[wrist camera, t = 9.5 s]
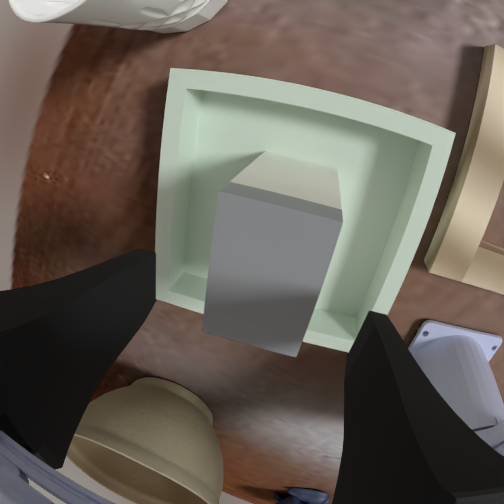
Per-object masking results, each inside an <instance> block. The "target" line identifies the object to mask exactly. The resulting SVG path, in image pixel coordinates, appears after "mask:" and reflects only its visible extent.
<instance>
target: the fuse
mask: <svg viewBox="0 0 504 504" xmlns="http://www.w3.org/2000/svg"><path fill="white" fill-rule="evenodd" d="M342 224H343V216H342V206H341V196H340V187H339V179H338V170H337V169H336V168H332V167H329V166H325V165H321V164H317V163H313V162H309V161H305V160H301V159H297V158H293V157H289V156H284V155H280V154H276V153H271V152H267V151H265V152H264V153H263V154H261V155H260V156H259V157H258V158H257V159H255V160H254V161H253V162H252V163H251V164H250V165H248V166H247V167H246V168H245V169H244V170H243V171H241V172H240V173H239V174H238V175H237V176H236V177H234V178H233V179H232V180H231V181H230V182H229V183H228V184H226V185H225V186H224V187H223V188H222V189H221V190H220V191H219V193H218V200H217V207H216V215H215V222H214V230H213V237H212V245H211V253H210V261H209V270H208V278H207V287H206V296H205V305H204V314H203V324H202V331H204V332H207V333H210V334H213V335H217V336H220V337H223V338H227V339H230V340H233V341H237V342H240V343H244V344H247V345H251V346H254V347H258V348H261V349H265V350H269V351H273V352H276V353H280V354H284V355H288V356H292V357H297V354H298V351H299V349H300V346H301V344H302V341H303V338H304V336H305V333H306V330H307V328H308V325H309V322H310V320H311V317H312V314H313V311H314V309H315V306H316V303H317V300H318V297H319V295H320V292H321V289H322V286H323V283H324V280H325V277H326V274H327V271H328V268H329V265H330V262H331V259H332V256H333V253H334V250H335V247H336V244H337V240H338V237H339V234H340V231H341V228H342Z"/></svg>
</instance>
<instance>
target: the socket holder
mask: <svg viewBox="0 0 504 504" xmlns="http://www.w3.org/2000/svg"><path fill="white" fill-rule="evenodd" d="M503 180H504V49H503V48H501V47H500V46H498V45H496V44H494V45H490V46H486V47H484V52H483V59H482V66H481V72H480V78H479V83H478V89H477V94H476V99H475V103H474V108H473V112H472V117H471V121H470V125H469V129H468V133H467V137H466V141H465V144H464V148H463V152H462V155H461V159H460V162H459V165H458V169H457V172H456V175H455V178H454V181H453V184H452V187H451V190H450V193H449V196H448V199H447V202H446V205H445V208H444V210H443V213H442V216H441V219H440V221H439V224H438V227H437V229H436V232H435V234H434V237H433V239H432V242H431V244H430V247H429V249H428V251H427V254H426V256H425V258H424V263H425V265H426V267H427V269H428V271H429V273H433V274H436V275H440V276H443V277H447V278H450V279H453V280H457V281H460V282H464V283H467V284H470V285H474V286H477V287H480V288H484V289H487V290H490V291H493V292H497V293H500V294H503V295H504V249H503V248H500V247H498V246H495V245H493V244H490V243H487V242H485V241H482V240H481V239H482V237H483V235H484V232H485V230H486V227H487V225H488V222H489V220H490V217H491V215H492V212H493V209H494V206H495V204H496V201H497V198H498V195H499V192H500V189H501V186H502V183H503Z"/></svg>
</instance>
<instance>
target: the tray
mask: <svg viewBox="0 0 504 504" xmlns="http://www.w3.org/2000/svg"><path fill="white" fill-rule="evenodd" d="M455 134H456V133H454V132H452V131H450V130H447V129H445V128H442V127H440V126H437V125H435V124H432V123H429V122H427V121H424V120H421V119H419V118H416V117H413V116H410V115H407V114H405V113H402V112H399V111H396V110H393V109H390V108H387V107H383V106H380V105H377V104H374V103H370V102H367V101H363V100H360V99H356V98H353V97H349V96H345V95H341V94H338V93H334V92H329V91H325V90H321V89H317V88H312V87H308V86H303V85H298V84H293V83H288V82H283V81H277V80H272V79H266V78H260V77H253V76H246V75H239V74H231V73H223V72H214V71H204V70H192V69H177V68H171V69H170V76H169V83H168V90H167V97H166V105H165V114H164V123H163V132H162V142H161V153H160V165H159V178H158V194H157V212H156V238H155V253H156V299H158V300H161V301H164V302H167V303H170V304H173V305H176V306H180V307H183V308H186V309H189V310H192V311H195V312H199V313H202V314H204V305H205V296H206V287H207V278H208V270H209V261H210V253H211V245H212V237H213V230H214V222H215V215H216V207H217V200H218V193H219V191H220V190H221V189H222V188H223V187H224V186H225V185H226V184H228V183H229V182H230V181H231V180H232V179H233V178H234V177H236V176H237V175H238V174H239V173H240V172H241V171H243V170H244V169H245V168H246V167H247V166H248V165H250V164H251V163H252V162H253V161H254V160H255V159H257V158H258V157H259V156H260V155H261V154H263V153H264V152H265V151H267V152H271V153H276V154H280V155H284V156H289V157H293V158H297V159H301V160H305V161H309V162H313V163H317V164H321V165H325V166H329V167H332V168H336V169H337V170H338V179H339V187H340V196H341V206H342V216H343V224H342V228H341V231H340V234H339V237H338V240H337V244H336V247H335V250H334V253H333V256H332V259H331V262H330V265H329V268H328V271H327V274H326V277H325V280H324V283H323V286H322V289H321V292H320V295H319V297H318V300H317V303H316V306H315V309H314V311H313V314H312V317H311V320H310V322H309V325H308V328H307V330H306V333H305V336H304V338H303V342H307V343H311V344H315V345H319V346H323V347H327V348H332V349H336V350H340V351H345V352H349V351H350V349H351V347H352V345H353V343H354V341H355V339H356V337H357V335H358V333H359V331H360V329H361V327H362V324H363V322H364V320H365V318H366V316H367V314H368V312H369V310H370V311H374V312H378V313H382V314H386V315H388V313H389V311H390V308H391V306H392V304H393V302H394V300H395V298H396V296H397V294H398V292H399V289H400V287H401V285H402V283H403V281H404V278H405V276H406V274H407V272H408V269H409V267H410V265H411V262H412V260H413V258H414V255H415V253H416V250H417V248H418V245H419V243H420V240H421V238H422V235H423V233H424V230H425V228H426V225H427V222H428V220H429V217H430V214H431V211H432V208H433V206H434V203H435V200H436V197H437V194H438V191H439V188H440V185H441V182H442V179H443V176H444V172H445V169H446V166H447V162H448V159H449V156H450V152H451V149H452V145H453V141H454V137H455Z"/></svg>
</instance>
